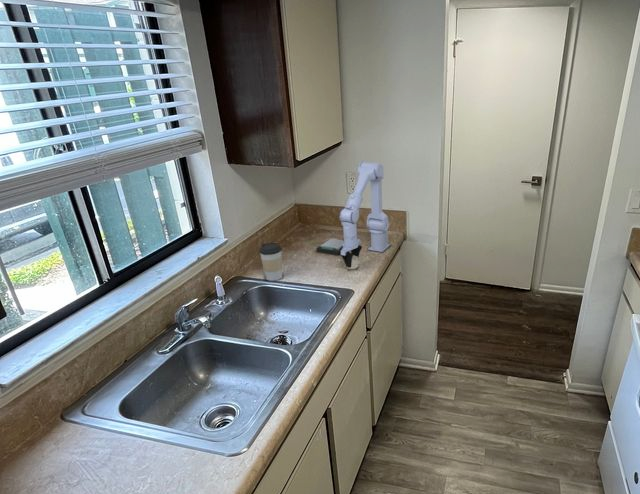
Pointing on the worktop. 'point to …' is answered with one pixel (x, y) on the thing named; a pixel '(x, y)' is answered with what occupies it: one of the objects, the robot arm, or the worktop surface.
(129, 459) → the worktop surface
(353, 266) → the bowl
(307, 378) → the worktop surface
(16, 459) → the worktop surface
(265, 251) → the coffee cup
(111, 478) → the worktop surface
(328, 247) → the scale
